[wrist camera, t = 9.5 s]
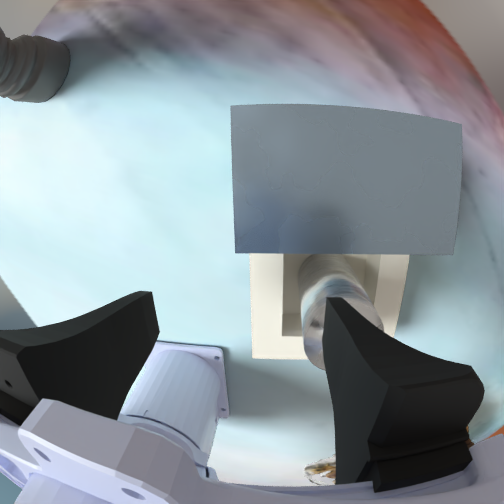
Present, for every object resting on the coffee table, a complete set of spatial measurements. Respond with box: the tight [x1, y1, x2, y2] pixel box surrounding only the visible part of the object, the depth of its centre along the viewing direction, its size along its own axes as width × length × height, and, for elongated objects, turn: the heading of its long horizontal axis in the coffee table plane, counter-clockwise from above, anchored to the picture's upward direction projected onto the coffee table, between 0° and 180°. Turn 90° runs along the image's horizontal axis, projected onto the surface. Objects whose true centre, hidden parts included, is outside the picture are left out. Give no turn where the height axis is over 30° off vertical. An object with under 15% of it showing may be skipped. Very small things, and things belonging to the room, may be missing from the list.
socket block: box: [249, 253, 410, 359], centre depth 20 cm, size 10×10×4 cm
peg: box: [297, 254, 384, 371], centre depth 17 cm, size 4×4×8 cm
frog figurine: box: [304, 454, 336, 485], centre depth 29 cm, size 12×12×4 cm
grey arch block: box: [231, 104, 462, 255], centre depth 15 cm, size 6×10×9 cm, turn 91°
